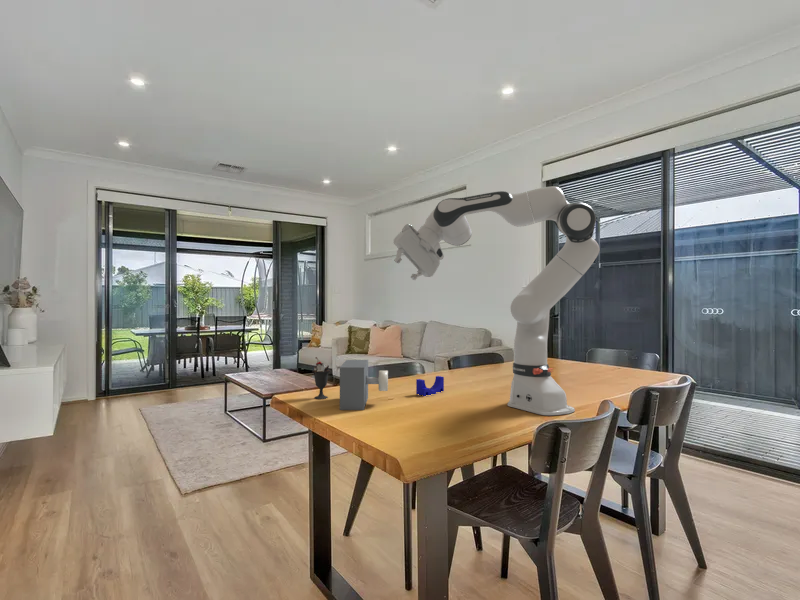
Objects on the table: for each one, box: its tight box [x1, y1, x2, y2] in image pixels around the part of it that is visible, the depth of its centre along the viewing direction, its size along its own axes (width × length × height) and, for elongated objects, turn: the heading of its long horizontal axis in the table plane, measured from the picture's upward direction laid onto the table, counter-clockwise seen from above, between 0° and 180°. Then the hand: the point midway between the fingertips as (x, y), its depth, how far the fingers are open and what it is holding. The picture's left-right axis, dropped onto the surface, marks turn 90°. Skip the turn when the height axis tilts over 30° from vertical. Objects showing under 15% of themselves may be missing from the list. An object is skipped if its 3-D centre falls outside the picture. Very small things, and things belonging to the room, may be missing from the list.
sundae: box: [311, 356, 331, 400], centre depth 159 cm, size 7×7×15 cm
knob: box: [366, 370, 389, 392], centre depth 150 cm, size 9×7×7 cm
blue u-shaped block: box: [415, 375, 445, 397], centre depth 167 cm, size 12×4×6 cm, turn 131°
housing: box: [339, 359, 369, 411], centre depth 150 cm, size 8×18×14 cm, turn 0°
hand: (404, 270), depth 153 cm, fingers open, 8 cm apart
